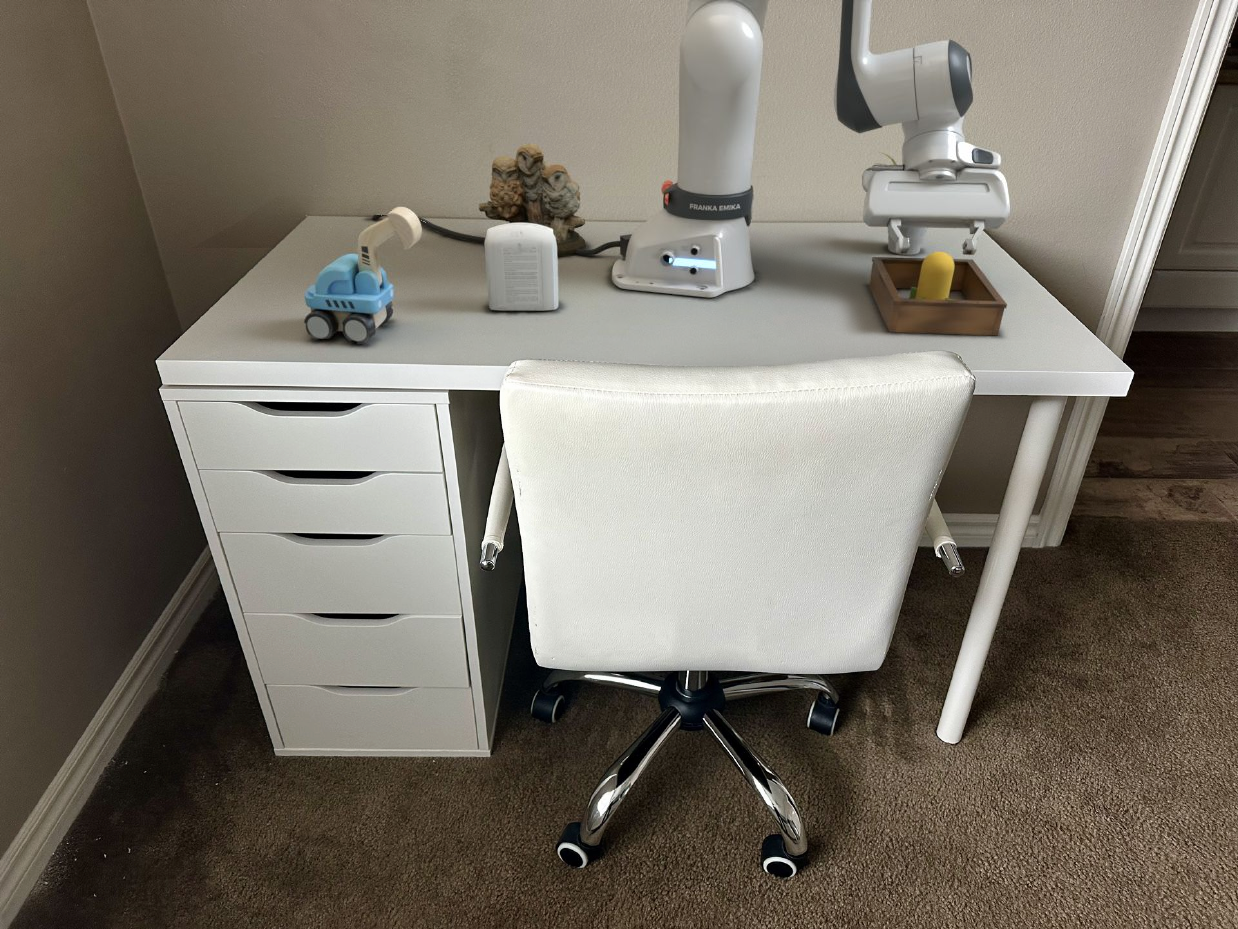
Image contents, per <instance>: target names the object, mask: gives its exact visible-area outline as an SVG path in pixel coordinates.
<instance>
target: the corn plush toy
mask: <svg viewBox="0 0 1238 929" xmlns="http://www.w3.org/2000/svg"><path fill="white" fill-rule="evenodd" d="M924 258H925V259H924V261H923V263H922V267H921V272H920V278H919V283H918V288H915V287H911V289H909V290H910V291H909V297H908V299H937V300H953V298H949V296H950V292H951V290H950V287H951V282H952V277H953V273H954V261H953V259H954V258H952V256H951V255H950V254H949V253H947V252H944V251H934V252H932V253H929V254H928V255H927V256H926V257H924Z"/></svg>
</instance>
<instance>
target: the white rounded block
mask: <svg viewBox="0 0 1238 929" xmlns="http://www.w3.org/2000/svg"><path fill="white" fill-rule="evenodd" d="M507 223H508V224H507ZM507 223H503V224H499V225H495V226H491V227H489V228H487V231H486V235H485V243H483V244H484V257H485V258H484V259H485V272H486V287H487V300H488V308H489V309H490V310H491V311H555V310H557V309H558V308H559V305H560V304H559V302H560V301H559V268H558V267H559V266H558V265H559V264H558V262H559V261H558V257H557V243H556V238H555V236H554V234H553V229H551V228H549V227H546V226H543V225H538V224H533V223H510V222H507Z"/></svg>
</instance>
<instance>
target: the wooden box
mask: <svg viewBox="0 0 1238 929" xmlns="http://www.w3.org/2000/svg"><path fill="white" fill-rule="evenodd" d="M925 258H926V257H897V256H896V257H895V256H894V257H891V256H872V258H871V261H872V264H871V266H872V267H871V272H870V278H869V279H870V280H869V283H868V284H869V285H868V286H869V289H870V291H871V293H872V296H873V298H874V300H875V302H876V305H877V307H878V309H879V311H880V314H881V316H882V318H883V321H884V323H885V325H886V328H887V330H888V332H889V333H904V334H905V333H906V334H910V333H911V334H937V335H969V336H999V332H1000V328H1001V324H1002V320H1003V316H1004V313H1005V309H1007V307H1008V303H1006V301H1005V300H1004V298H1003V297H1002V296H1001V295H1000V293H999V291H997V289H996V288H995V286H994V285H993V284H992V283H991V282H990V280H989V279H988V278H987V276H986V275H985V274H984V272H983V271H982V270H981V268H980V267H979V265H978V264H977V263H976V261H975V260H974V259H970V258H969V259H968V258H967V259H965V258H952V259H953V261H954V273H953V277H952V282H951V287H950V291H961V292H962V293H963V294H964V296H965V297H966V299H965V300H964V299H952V300H937V299H909V298H904V297H903V298H902V297H901V296H900V295H899V292H898V291H897V289H902V290H903V289H905V290H907V289H909V290H911V287H915V288H918V283H919V278H920V272H921V267H922V263H923V261H924V259H925Z"/></svg>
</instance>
